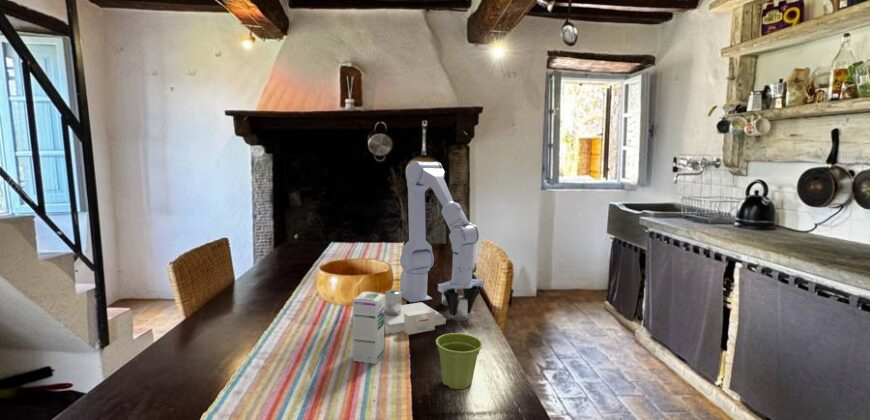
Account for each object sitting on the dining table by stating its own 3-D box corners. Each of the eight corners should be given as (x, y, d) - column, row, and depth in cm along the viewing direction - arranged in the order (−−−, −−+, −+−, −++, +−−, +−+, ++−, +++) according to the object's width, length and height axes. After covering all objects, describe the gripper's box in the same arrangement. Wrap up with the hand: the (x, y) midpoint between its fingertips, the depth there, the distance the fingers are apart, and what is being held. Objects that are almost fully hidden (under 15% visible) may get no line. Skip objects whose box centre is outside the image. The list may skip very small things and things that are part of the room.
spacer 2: (439, 302, 141) (440, 283, 140) (450, 300, 143) (451, 282, 142) (446, 306, 137) (447, 287, 136) (458, 304, 139) (459, 286, 139)
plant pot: (432, 371, 96) (434, 332, 95) (475, 371, 97) (477, 332, 95) (436, 394, 86) (438, 351, 85) (483, 394, 87) (486, 352, 86)
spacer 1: (398, 310, 125) (398, 289, 124) (403, 315, 121) (404, 293, 120) (382, 311, 123) (383, 290, 122) (387, 317, 119) (388, 295, 118)
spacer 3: (448, 316, 128) (450, 296, 128) (461, 314, 131) (462, 294, 130) (457, 322, 125) (458, 301, 124) (470, 319, 127) (471, 299, 126)
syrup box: (376, 365, 97) (378, 300, 95) (351, 361, 98) (352, 297, 97) (384, 354, 103) (386, 293, 101) (360, 350, 104) (362, 290, 102)
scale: (368, 318, 124) (368, 301, 123) (424, 309, 133) (424, 293, 133) (391, 338, 111) (391, 319, 111) (451, 327, 121) (452, 309, 120)
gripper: (448, 273, 119) (445, 321, 120) (491, 268, 126) (488, 314, 128) (434, 266, 125) (432, 313, 126) (476, 262, 132) (474, 306, 134)
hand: (459, 313), depth 128 cm, fingers open, 5 cm apart
